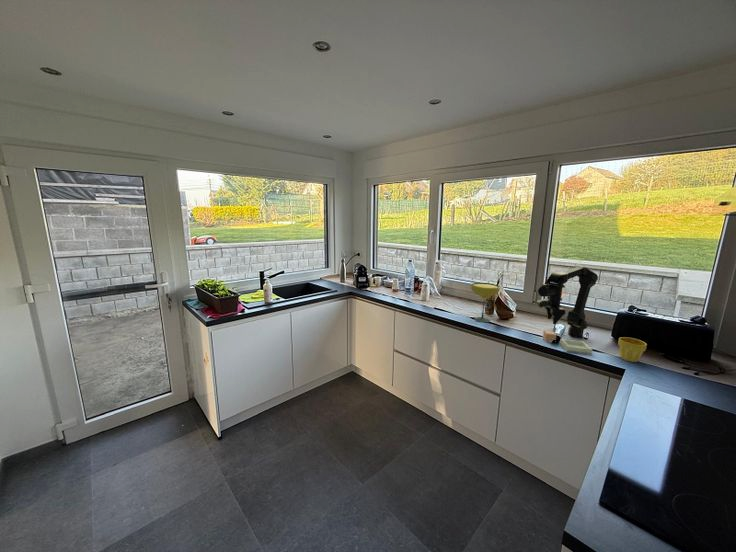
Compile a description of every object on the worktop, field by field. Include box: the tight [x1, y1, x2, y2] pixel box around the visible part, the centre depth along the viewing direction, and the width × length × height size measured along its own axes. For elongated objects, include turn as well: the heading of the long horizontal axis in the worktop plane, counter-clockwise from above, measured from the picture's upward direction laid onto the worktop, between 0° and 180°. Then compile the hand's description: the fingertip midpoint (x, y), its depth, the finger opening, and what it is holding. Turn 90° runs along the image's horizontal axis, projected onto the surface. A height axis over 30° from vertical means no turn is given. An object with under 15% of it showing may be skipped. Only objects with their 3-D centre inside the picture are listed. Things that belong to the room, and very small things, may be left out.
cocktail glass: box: [470, 282, 501, 324], centre depth 199 cm, size 18×18×25 cm
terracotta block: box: [542, 330, 557, 342], centre depth 167 cm, size 5×5×5 cm
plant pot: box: [617, 336, 648, 363], centre depth 144 cm, size 10×10×10 cm
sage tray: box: [559, 338, 593, 356], centre depth 156 cm, size 11×11×3 cm
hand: (551, 321), depth 165 cm, fingers open, 9 cm apart
